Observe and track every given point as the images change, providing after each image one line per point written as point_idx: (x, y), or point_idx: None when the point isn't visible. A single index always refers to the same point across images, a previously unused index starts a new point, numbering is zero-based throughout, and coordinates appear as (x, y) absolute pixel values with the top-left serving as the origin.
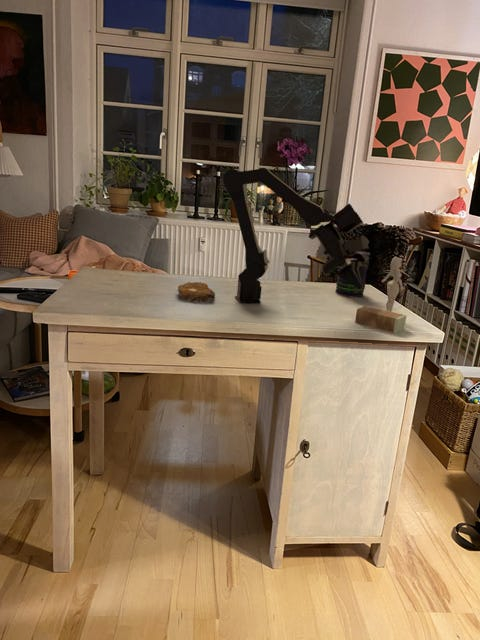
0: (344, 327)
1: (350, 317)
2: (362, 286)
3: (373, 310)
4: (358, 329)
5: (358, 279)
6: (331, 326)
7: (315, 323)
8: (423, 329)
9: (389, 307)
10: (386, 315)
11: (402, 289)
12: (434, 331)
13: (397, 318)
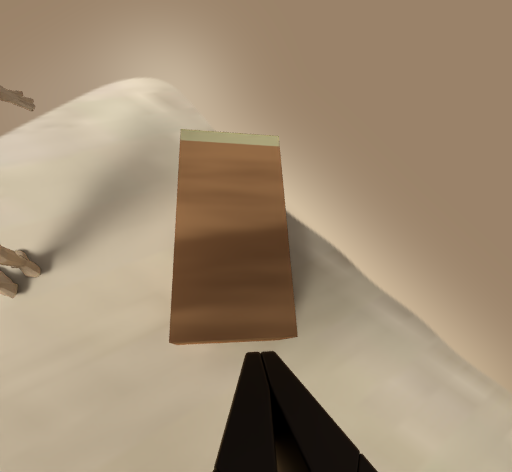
0: (387, 329)
1: (215, 405)
2: (259, 356)
3: (237, 263)
4: (355, 278)
5: (312, 417)
6: (429, 373)
7: (467, 452)
8: (122, 119)
9: (10, 258)
10: (269, 187)
11: (14, 93)
12: (115, 89)
13: (271, 141)
